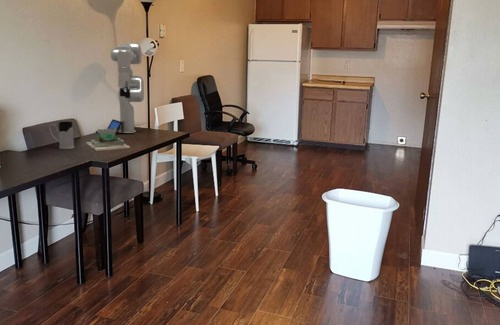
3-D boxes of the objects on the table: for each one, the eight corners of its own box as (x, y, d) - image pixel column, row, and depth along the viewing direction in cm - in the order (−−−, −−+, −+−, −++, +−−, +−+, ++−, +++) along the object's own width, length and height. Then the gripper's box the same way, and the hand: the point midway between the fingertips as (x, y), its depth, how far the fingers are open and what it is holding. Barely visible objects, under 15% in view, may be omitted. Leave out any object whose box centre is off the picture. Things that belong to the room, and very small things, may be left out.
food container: (103, 147, 275) (102, 130, 272) (97, 145, 278) (96, 129, 276) (120, 144, 284) (120, 128, 282) (115, 142, 288) (114, 127, 285)
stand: (86, 144, 286) (86, 138, 285) (118, 141, 297) (117, 136, 296) (96, 151, 268) (96, 145, 267) (129, 148, 279) (129, 142, 278)
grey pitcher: (70, 149, 270) (69, 124, 266) (47, 148, 271) (45, 122, 267) (77, 146, 278) (75, 121, 275) (54, 145, 279) (52, 120, 275)
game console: (95, 132, 324) (94, 120, 322) (113, 131, 333) (113, 119, 331) (103, 136, 313) (103, 123, 311) (122, 134, 321) (122, 122, 319)
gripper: (114, 69, 296) (114, 95, 300) (123, 70, 282) (123, 98, 286) (125, 69, 300) (126, 95, 304) (134, 70, 286) (135, 98, 290)
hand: (125, 97), depth 295 cm, fingers open, 9 cm apart
